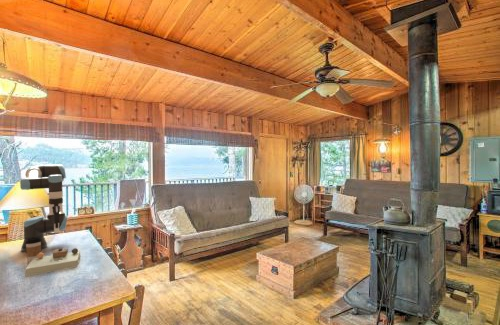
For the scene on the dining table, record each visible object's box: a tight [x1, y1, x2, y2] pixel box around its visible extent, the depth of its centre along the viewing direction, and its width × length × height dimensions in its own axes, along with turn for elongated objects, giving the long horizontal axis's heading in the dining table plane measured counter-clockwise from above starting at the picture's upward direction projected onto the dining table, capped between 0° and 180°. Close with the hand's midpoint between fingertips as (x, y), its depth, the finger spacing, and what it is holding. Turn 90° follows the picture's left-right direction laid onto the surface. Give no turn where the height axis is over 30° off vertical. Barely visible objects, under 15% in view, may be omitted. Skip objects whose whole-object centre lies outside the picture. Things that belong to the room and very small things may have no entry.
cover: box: [52, 247, 69, 258], centre depth 170 cm, size 7×7×4 cm
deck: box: [24, 250, 81, 277], centre depth 164 cm, size 20×25×4 cm
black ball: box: [71, 247, 79, 254], centre depth 173 cm, size 4×4×4 cm
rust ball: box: [37, 252, 45, 258], centre depth 166 cm, size 4×4×4 cm
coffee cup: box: [25, 237, 42, 263], centre depth 173 cm, size 8×8×15 cm
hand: (56, 232), depth 175 cm, fingers closed
